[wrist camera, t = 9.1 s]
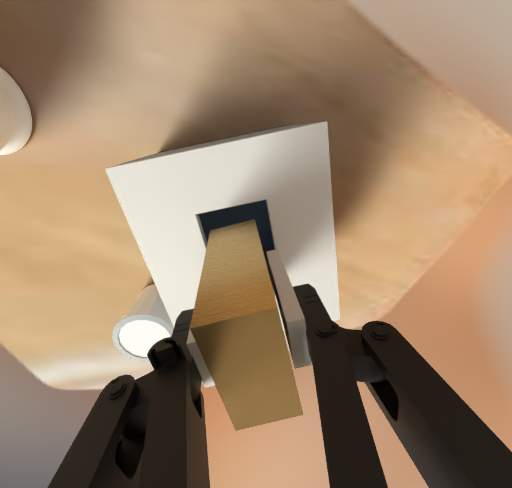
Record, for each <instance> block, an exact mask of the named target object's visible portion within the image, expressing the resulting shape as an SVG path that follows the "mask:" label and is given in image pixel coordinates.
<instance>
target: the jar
mask: <svg viewBox="0 0 512 488" xmlns="http://www.w3.org/2000/svg"><path fill="white" fill-rule="evenodd" d="M31 131H32V116H31V111H30V107H29V105H28V102H27V100H26V98H25V96H24V94H23V92H22V90H21V89H20V87H19V86H18V85H17V83H16V82H15V81H14V80H13V78H12V77H11V76H10V75H9V74H8V73H7V72H6V71H5V70H3V69H2V68H1V67H0V155H7V154H11V153H14V152H16V151H18V150H20V149H21V148H22V147H23V146H24V145H25V144H26V143H27V141H28V140H29V138H30V135H31Z"/></svg>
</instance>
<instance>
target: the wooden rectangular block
mask: <svg viewBox="0 0 512 488" xmlns="http://www.w3.org/2000/svg"><path fill="white" fill-rule="evenodd" d="M190 330H191V333H192V335H193V337H194V339H195V341H196V344H197V346H198V348H199V350H200V352H201V355H202V357H203V359H204V361H205V364H206V366H207V368H208V370H209V372H210V375H211V377H212V379H213V381H214V383H215V386H216V388H217V390H218V392H219V395H220V396H221V399H222V401H223V403H224V405H225V408H226V410H227V412H228V414H229V417H230V419H231V421H232V423H233V426H234V428H235V430H240V429H244V428H249V427H253V426H257V425H261V424H266V423H270V422H274V421H279V420H283V419H287V418H291V417H296V416H300V415H303V412H302V408H301V403H300V399H299V395H298V391H297V387H296V383H295V378H294V374H293V370H292V366H291V361H290V357H289V353H288V349H287V345H286V340H285V336H284V332H283V328H282V324H281V319H280V315H279V311H278V307H277V303H276V299H275V295H274V292H273V288H272V284H271V280H270V276H269V272H268V268H267V265H266V261H265V257H264V253H263V249H262V245H261V241H260V238H259V234H258V230H257V226H256V222H255V219H253V220H249V221H245V222H241V223H237V224H233V225H229V226H225V227H221V228H217V229H213V230H210V234H209V239H208V244H207V248H206V253H205V258H204V263H203V268H202V272H201V277H200V282H199V287H198V291H197V296H196V301H195V306H194V311H193V315H192V320H191V325H190Z"/></svg>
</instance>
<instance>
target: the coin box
mask: <svg viewBox="0 0 512 488" xmlns="http://www.w3.org/2000/svg"><path fill="white" fill-rule="evenodd" d="M105 170H106V173H107V175H108V177H109V179H110V182H111V184H112V186H113V189H114V191H115V193H116V195H117V198H118V200H119V202H120V205H121V207H122V209H123V212H124V214H125V216H126V218H127V221H128V223H129V225H130V228H131V230H132V232H133V235H134V237H135V239H136V241H137V244H138V246H139V248H140V251H141V253H142V255H143V257H144V260H145V262H146V264H147V267H148V269H149V271H150V274H151V276H152V278H153V280H154V283H155V285H156V287H157V290H158V292H159V294H160V297H161V299H162V301H163V303H164V306H165V308H166V310H167V313H168V315H169V317H170V319H171V322H172V324H173V326H174V325H175V322H176V319H177V317H178V316H179V314H180V313H181V312H182V311H184V310H189V309H194V306H195V301H196V296H197V291H198V287H199V282H200V277H201V272H202V268H203V263H204V258H205V253H206V248H207V244H208V239H209V234H210V230H213V229H217V228H221V227H225V226H229V225H233V224H237V223H241V222H245V221H249V220H253V219H255V222H256V226H257V230H258V234H259V238H260V241H261V245H262V249H263V253H264V257H265V261H266V265H267V268H268V272H269V276H270V280H271V284H272V288H273V283H272V278H271V273H270V268H269V263H268V258H267V253H266V252H267V251H271V250H276V249H278V251H279V254H280V256H281V259H282V261H283V264H284V266H285V269H286V271H287V274H288V277H289V279H290V282H291V284H292V287H294V286H299V285H303V284H310V285H311V286H313V287H314V288H315V289H316V291H317V293H318V296H319V297H320V299H321V301H322V303H323V305H324V306H325V308H326V310H327V312H328V314H329V316H330V318H331V320H332V321H335V320H340V311H339V295H338V280H337V264H336V249H335V233H334V218H333V202H332V186H331V171H330V155H329V140H328V124H327V121H326V122H316V123H306V124H296V125H287V126H283V127H278V128H273V129H268V130H264V131H259V132H254V133H250V134H245V135H240V136H236V137H231V138H226V139H222V140H217V141H212V142H207V143H203V144H198V145H193V146H189V147H184V148H179V149H175V150H170V151H165V152H161V153H156V154H153V155H150V156H146V157H143V158H139V159H136V160H133V161H129V162H126V163H123V164H119V165H116V166H113V167H109V168H106V169H105ZM273 292H274V288H273ZM274 295H275V292H274ZM275 299H276V295H275ZM276 303H277V299H276ZM277 307H278V303H277ZM278 311H279V315H280V319H281V324H282V328H283V332H284V331H285V329H284V325H283V322H282V318H281V314H280V310H279V307H278ZM174 327H175V326H174Z"/></svg>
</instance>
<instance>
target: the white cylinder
mask: <svg viewBox="0 0 512 488" xmlns="http://www.w3.org/2000/svg"><path fill="white" fill-rule="evenodd" d="M173 329H174V326H173V324H172V322H171V319H170V317H169V315H168V313H167V310H166V308H165V306H164V303H163V301H162V299H161V297H160V294H159V292H158V290H157V287H156V285H155V284H152V285H149V286H147V287H146V288H145V289H144V290H142V291H141V293H140V294H139V295H138V297H137V298H136V299H135V301H134V302H133V303H132V305H131V306H130V307H129V308H128V310H127V311H126V312H125V314H124V315H123V316H122V318H121V319H120V320H119V322H118V323H117V324H116V326H115V328H114V331H113V334H112V337H113V342H114V345H115V346H116V347H117V349H118V350H119V351H120V352H121V353H122V354H124V355H126V356H127V357H129V358H131V359H135V360H139V361H150V360H149V358H148V356H147V354H148V351H149V349H150V348H151V347H152V346H153V345H154V344H155V343H156V342H158V341H159V340H162V339H164V338H167V337H171V336H172V333H173Z"/></svg>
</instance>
